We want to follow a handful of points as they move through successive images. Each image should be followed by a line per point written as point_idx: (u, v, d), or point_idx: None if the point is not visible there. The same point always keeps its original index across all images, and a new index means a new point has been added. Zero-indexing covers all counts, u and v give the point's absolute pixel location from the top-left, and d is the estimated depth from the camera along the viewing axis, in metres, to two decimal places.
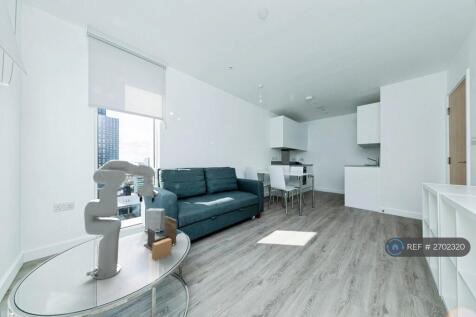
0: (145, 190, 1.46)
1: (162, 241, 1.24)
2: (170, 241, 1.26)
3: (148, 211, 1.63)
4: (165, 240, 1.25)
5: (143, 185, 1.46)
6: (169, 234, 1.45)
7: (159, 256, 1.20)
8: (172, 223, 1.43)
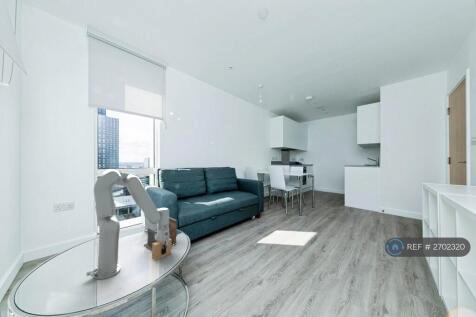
0: None
1: None
2: (170, 241, 1.26)
3: None
4: None
5: None
6: (169, 234, 1.45)
7: (159, 256, 1.20)
8: (172, 223, 1.43)
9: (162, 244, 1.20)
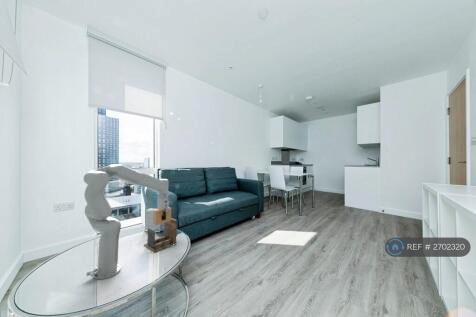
0: None
1: None
2: (170, 209, 1.38)
3: (148, 211, 1.63)
4: None
5: None
6: (169, 234, 1.45)
7: (159, 221, 1.32)
8: (172, 223, 1.43)
9: (162, 210, 1.32)
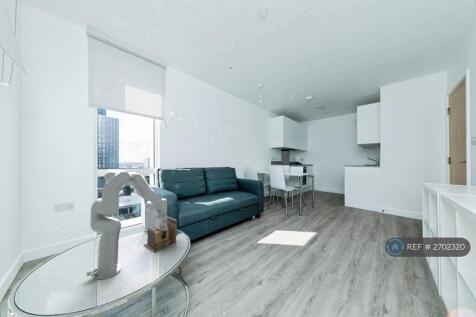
0: None
1: None
2: (168, 230, 1.42)
3: (148, 211, 1.63)
4: (163, 229, 1.41)
5: None
6: (169, 234, 1.45)
7: None
8: (172, 223, 1.43)
9: (161, 230, 1.36)
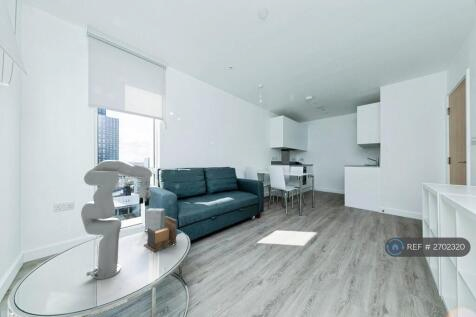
0: None
1: (161, 230, 1.39)
2: (168, 230, 1.42)
3: (148, 211, 1.63)
4: (163, 229, 1.41)
5: None
6: (169, 234, 1.45)
7: None
8: (172, 223, 1.43)
9: (143, 197, 1.39)
